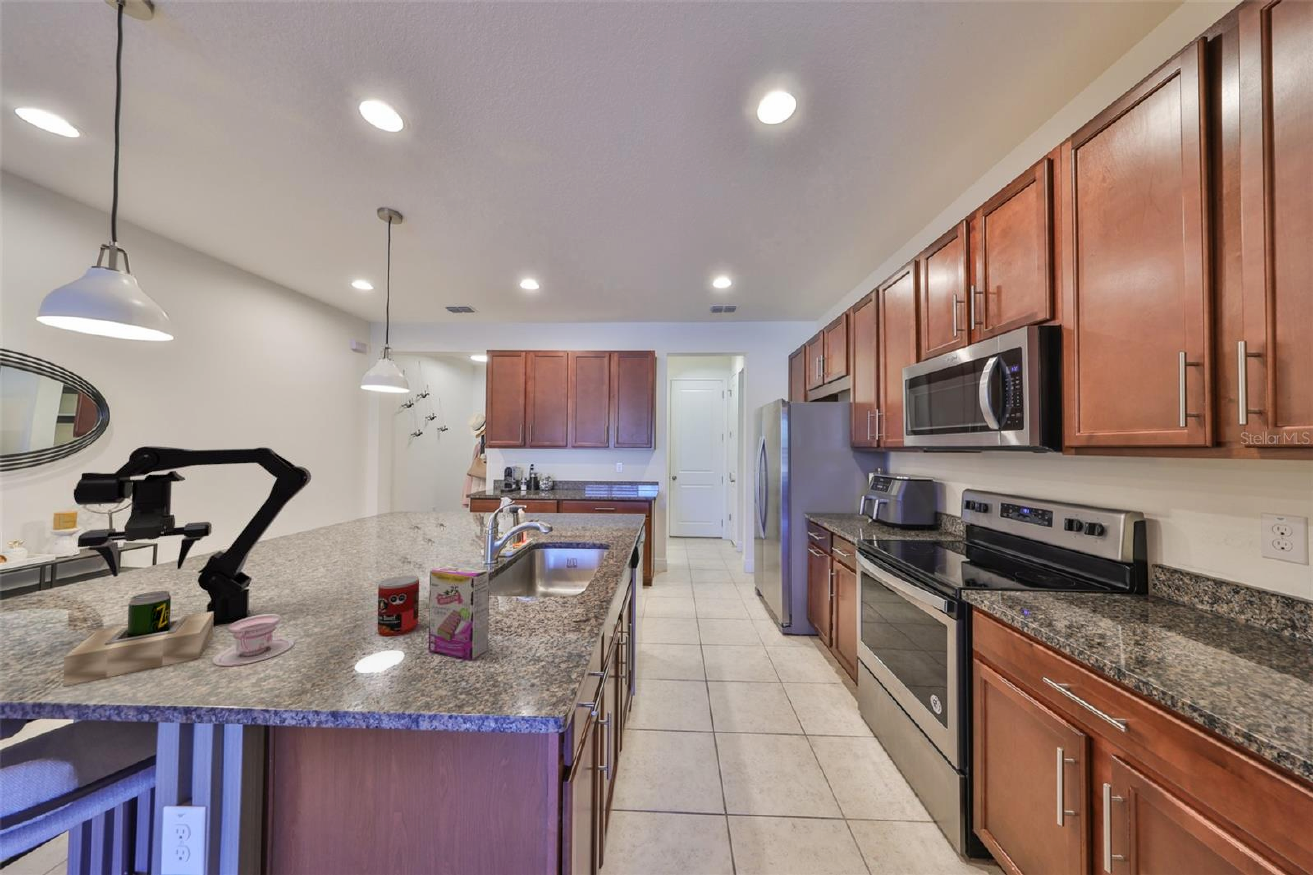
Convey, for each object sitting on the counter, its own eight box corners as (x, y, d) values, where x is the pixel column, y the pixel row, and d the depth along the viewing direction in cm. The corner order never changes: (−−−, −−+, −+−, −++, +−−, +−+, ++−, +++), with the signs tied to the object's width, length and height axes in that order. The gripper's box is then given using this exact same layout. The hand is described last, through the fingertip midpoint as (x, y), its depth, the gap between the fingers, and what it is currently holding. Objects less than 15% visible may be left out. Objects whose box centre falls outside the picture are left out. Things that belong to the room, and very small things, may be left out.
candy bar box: (426, 653, 86) (428, 570, 86) (446, 642, 90) (447, 564, 91) (471, 662, 82) (472, 575, 83) (489, 651, 87) (490, 569, 87)
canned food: (369, 633, 95) (370, 583, 95) (402, 620, 102) (403, 573, 103) (393, 639, 92) (394, 587, 92) (425, 625, 99) (426, 577, 100)
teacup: (233, 645, 89) (234, 615, 90) (304, 636, 94) (304, 607, 94) (197, 672, 78) (198, 638, 78) (279, 661, 83) (280, 628, 83)
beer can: (120, 666, 80) (122, 601, 80) (133, 655, 85) (136, 593, 85) (162, 659, 83) (164, 596, 83) (173, 648, 88) (175, 588, 88)
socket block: (213, 634, 94) (213, 609, 94) (198, 658, 83) (199, 631, 83) (97, 655, 84) (98, 628, 84) (63, 686, 73) (64, 655, 73)
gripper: (69, 509, 84) (65, 590, 84) (206, 502, 96) (203, 572, 96) (89, 504, 93) (85, 577, 92) (213, 498, 105) (210, 562, 104)
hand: (148, 572), depth 96 cm, fingers open, 9 cm apart
